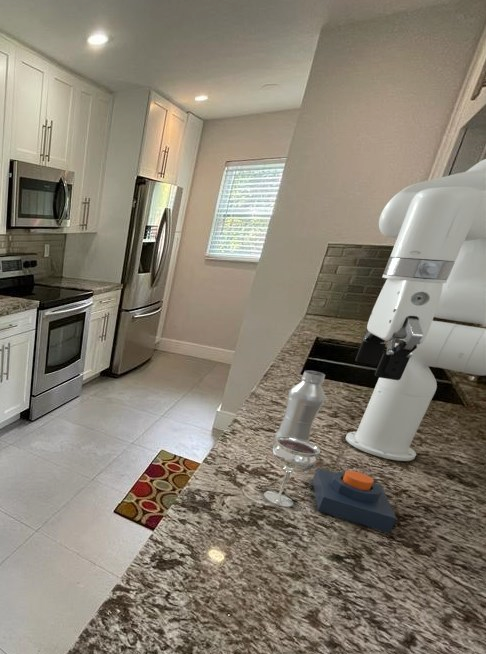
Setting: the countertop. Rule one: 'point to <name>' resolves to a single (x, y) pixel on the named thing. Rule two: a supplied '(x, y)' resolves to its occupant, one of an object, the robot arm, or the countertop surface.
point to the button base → (352, 501)
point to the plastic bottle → (302, 406)
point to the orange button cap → (358, 480)
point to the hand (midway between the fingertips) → (375, 370)
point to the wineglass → (291, 463)
